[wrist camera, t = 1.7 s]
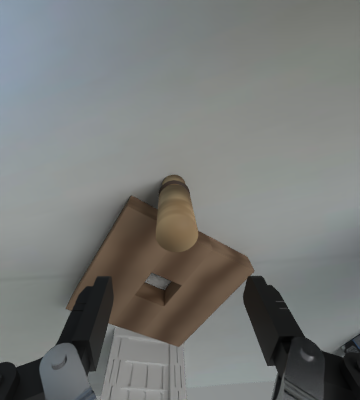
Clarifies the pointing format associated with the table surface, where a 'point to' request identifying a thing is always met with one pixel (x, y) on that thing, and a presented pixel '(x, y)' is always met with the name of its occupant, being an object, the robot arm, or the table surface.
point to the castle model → (143, 369)
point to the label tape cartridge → (352, 346)
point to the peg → (175, 216)
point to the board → (167, 268)
